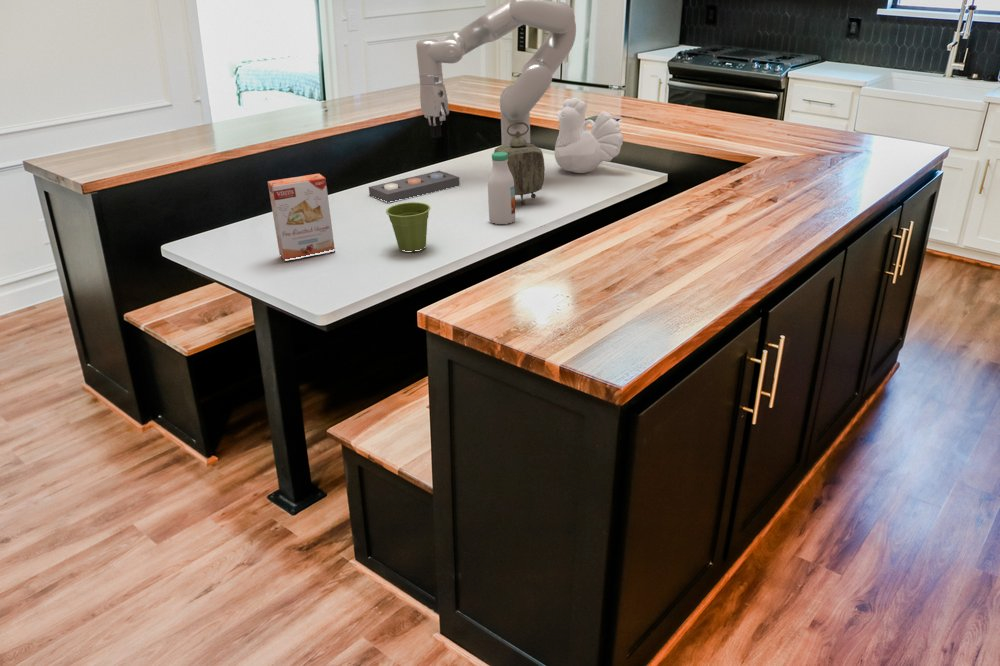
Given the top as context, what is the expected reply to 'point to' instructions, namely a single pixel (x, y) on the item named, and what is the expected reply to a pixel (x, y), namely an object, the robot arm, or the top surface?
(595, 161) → the decorative rooster
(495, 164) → the milk bottle
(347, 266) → the top surface
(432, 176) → the slate blue button
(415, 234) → the plant pot
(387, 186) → the cream button
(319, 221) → the cracker box
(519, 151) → the tabletop clock
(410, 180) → the terracotta button
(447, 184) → the button panel
